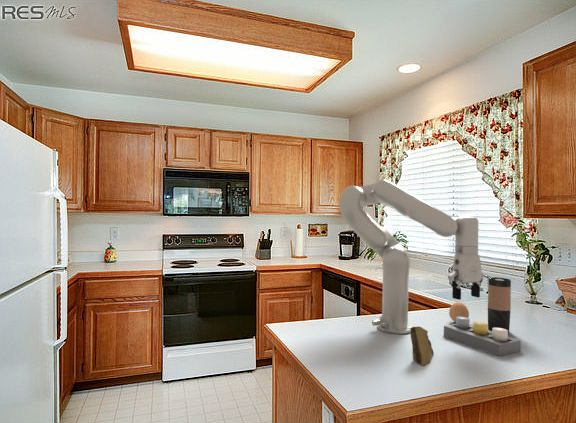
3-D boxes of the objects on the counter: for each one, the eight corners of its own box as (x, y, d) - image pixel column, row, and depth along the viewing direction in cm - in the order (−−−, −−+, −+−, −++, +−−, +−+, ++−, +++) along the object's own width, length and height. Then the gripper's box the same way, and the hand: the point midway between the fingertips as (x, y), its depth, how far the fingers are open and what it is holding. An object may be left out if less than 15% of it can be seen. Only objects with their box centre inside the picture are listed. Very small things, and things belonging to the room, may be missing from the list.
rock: (423, 342, 119) (398, 340, 116) (438, 325, 115) (412, 323, 111) (440, 373, 111) (414, 373, 107) (457, 357, 107) (430, 356, 103)
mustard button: (482, 335, 124) (482, 326, 124) (470, 331, 128) (470, 322, 128) (490, 334, 126) (490, 324, 126) (478, 330, 130) (478, 321, 130)
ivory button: (502, 342, 117) (502, 332, 117) (489, 338, 121) (489, 328, 121) (510, 340, 119) (510, 330, 119) (497, 336, 123) (497, 326, 123)
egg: (471, 326, 146) (472, 305, 146) (452, 325, 147) (452, 304, 147) (464, 321, 154) (465, 300, 154) (446, 320, 154) (447, 299, 154)
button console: (499, 356, 115) (499, 344, 115) (443, 335, 134) (443, 325, 134) (520, 351, 120) (520, 340, 120) (464, 332, 138) (464, 322, 139)
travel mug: (513, 334, 137) (514, 281, 137) (491, 332, 138) (492, 280, 139) (505, 328, 144) (506, 277, 145) (484, 326, 146) (485, 276, 146)
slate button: (463, 329, 130) (464, 320, 130) (453, 326, 134) (453, 317, 134) (472, 328, 132) (472, 319, 132) (461, 324, 136) (461, 316, 136)
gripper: (458, 252, 126) (458, 302, 126) (492, 251, 134) (491, 298, 133) (441, 250, 133) (440, 297, 133) (473, 249, 140) (473, 293, 140)
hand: (466, 297), depth 133 cm, fingers open, 9 cm apart
